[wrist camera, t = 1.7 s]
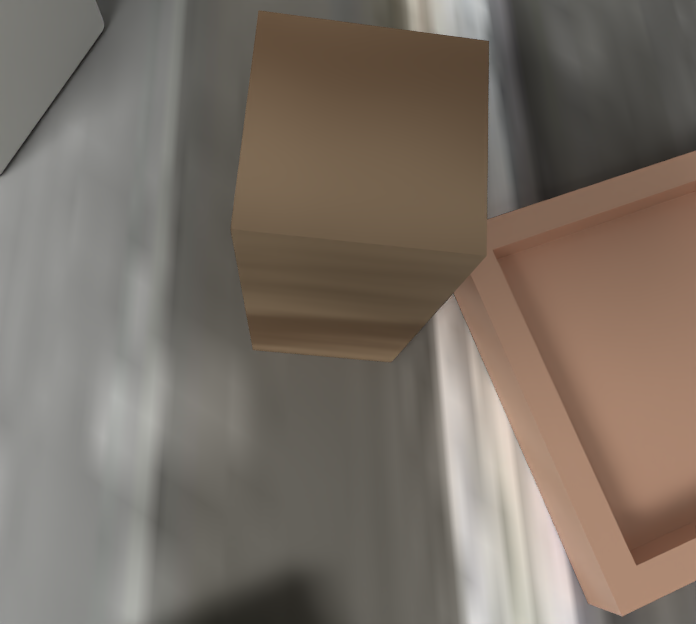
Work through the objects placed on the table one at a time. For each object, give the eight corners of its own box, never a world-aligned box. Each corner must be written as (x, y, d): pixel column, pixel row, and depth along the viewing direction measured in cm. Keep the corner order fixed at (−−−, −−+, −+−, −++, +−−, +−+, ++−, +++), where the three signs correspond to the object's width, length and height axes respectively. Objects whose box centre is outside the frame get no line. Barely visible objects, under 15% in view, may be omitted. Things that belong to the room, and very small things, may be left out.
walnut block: (391, 362, 21) (486, 256, 11) (253, 350, 21) (230, 229, 11) (397, 234, 22) (489, 41, 13) (267, 221, 22) (258, 10, 12)
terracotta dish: (890, 460, 22) (949, 457, 20) (588, 603, 19) (622, 616, 18) (721, 157, 24) (758, 129, 22) (436, 253, 22) (451, 231, 20)
